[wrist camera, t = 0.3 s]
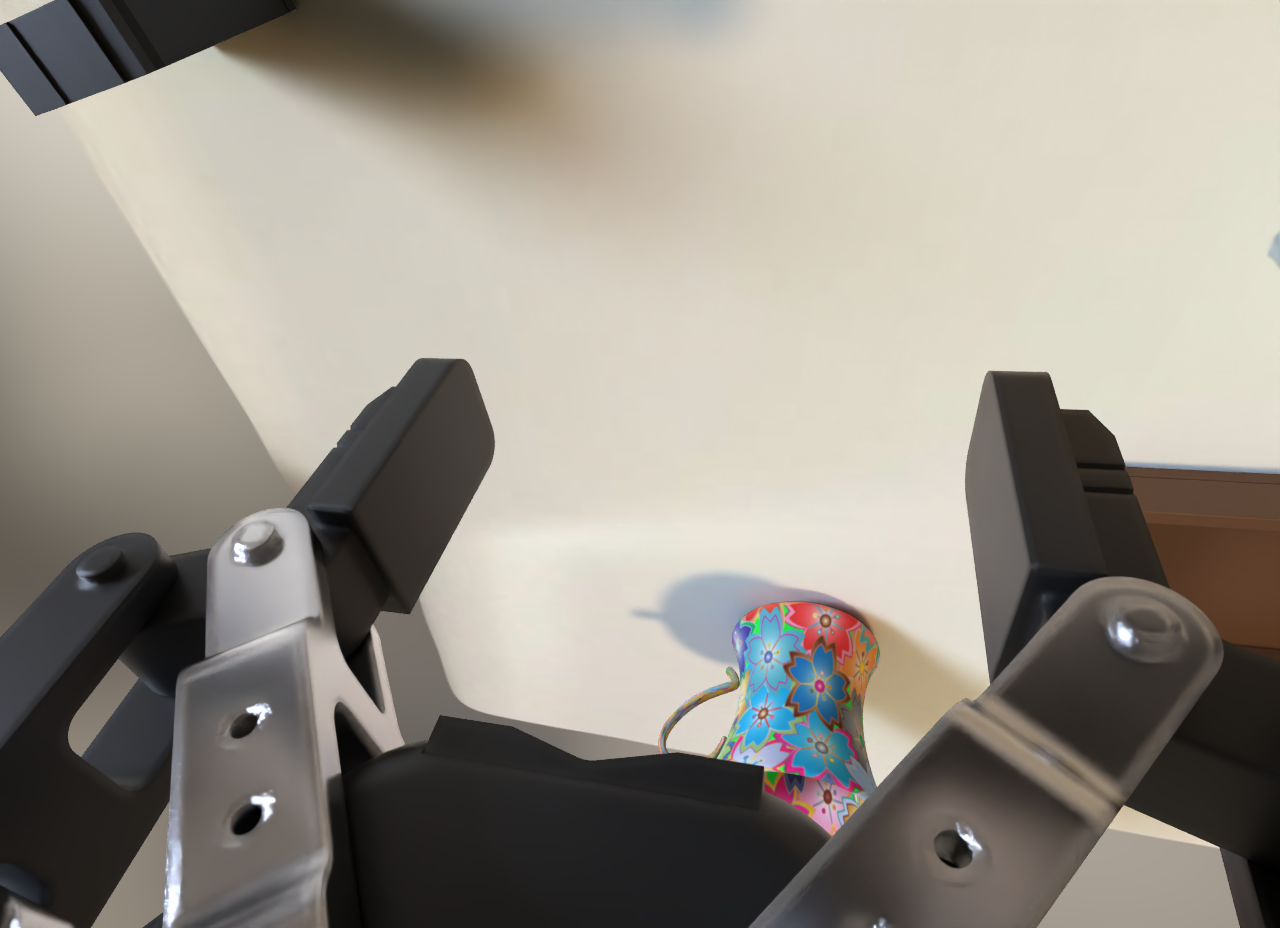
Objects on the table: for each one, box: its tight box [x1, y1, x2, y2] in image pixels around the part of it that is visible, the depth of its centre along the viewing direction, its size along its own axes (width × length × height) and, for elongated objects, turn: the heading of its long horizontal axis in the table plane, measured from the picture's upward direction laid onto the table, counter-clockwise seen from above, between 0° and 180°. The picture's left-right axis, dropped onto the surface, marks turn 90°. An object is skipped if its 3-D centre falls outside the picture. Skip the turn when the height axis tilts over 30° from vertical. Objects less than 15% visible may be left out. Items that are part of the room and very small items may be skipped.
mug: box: [658, 602, 880, 836], centre depth 40 cm, size 12×9×11 cm
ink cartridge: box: [0, 0, 297, 116], centre depth 23 cm, size 5×2×8 cm, turn 107°
